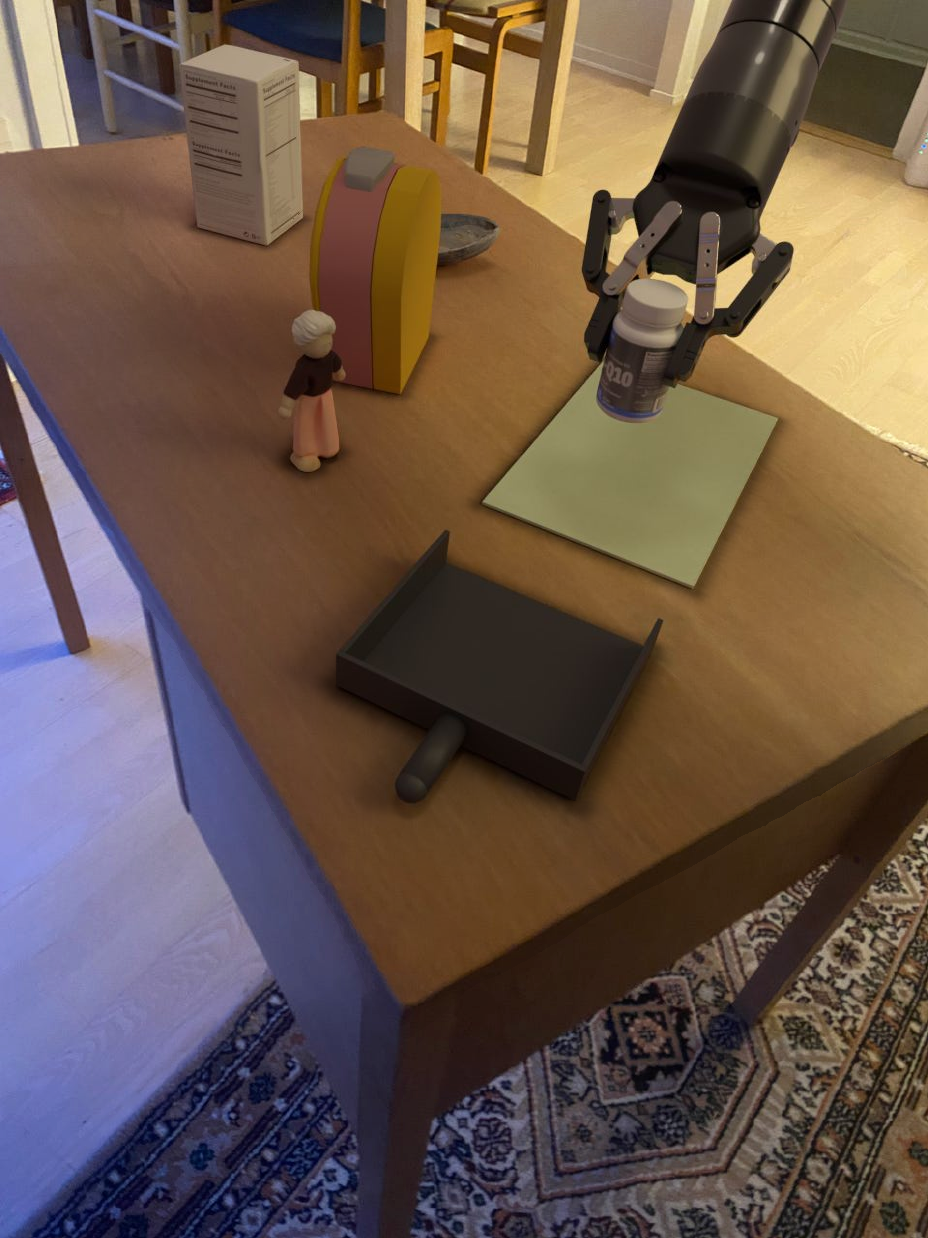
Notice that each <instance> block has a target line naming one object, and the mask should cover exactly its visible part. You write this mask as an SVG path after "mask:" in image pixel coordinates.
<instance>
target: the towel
mask: <svg viewBox="0 0 928 1238" xmlns="http://www.w3.org/2000/svg"><path fill="white" fill-rule="evenodd" d="M603 363H604V360H602V361H601V362H600V364H599V365H598V366H597V368H596V369H594V371H593V372H592V374H591V375H590V376H589V377H588V378H587V380H585V381H584V383H583V384H582V385H581V386H580V387H579V388H578V390H577V391H576V392H575V393H574V395H573V396H571V398H570V399H569V400H568V401H567V402H566V404H564V405H563V407H562V408H561V409H560V411H559V412H558V413H557V414H556V416H554V418H553V419H552V420H551V421H550V422H549V423H548V425H547V426H546V427H545V428H544V429H543V430H542V432H541V433H540V434H539V435H538V436H537V437H536V438H535V440H534V441H533V442H532V443H531V444H530V446H528V448H527V449H526V450H525V451H524V453H522V455H521V456H520V457H519V458H518V459H517V460H516V462H515V463H514V464H513V465H512V466H511V468H510V469H509V470H508V471H507V472H506V473H505V474H504V476H503V477H501V479H500V480H499V481H498V483H497V484H496V485H495V486H494V487H493V489H492V490H491V491H490V492H489V493H488V494H487V496H486V497H485V498H484V499H483V500H482V502H481V505H483V506H485V507H488V508H490V509H492V510H494V511H498V512H500V513H503V514H505V515H508V516H510V517H512V518H515V519H517V520H519V521H520V520H521V521H522V522H524V523H528V524H529V525H532V526H534V527H537V528H540V529H543V530H544V531H547V532H550V533H552V534H554V535H558V536H560V537H562V538H564V539H567V540H569V541H571V542H574V543H577V544H579V545H582V546H584V547H588V548H589V549H592V550H594V551H597V552H600V553H602V554H605V555H607V556H609V557H612V558H615V559H617V560H618V561H619V560H620V561H622V562H624V563H626V564H629V565H632V566H634V567H637V568H639V569H642V570H644V571H647V572H650V573H652V574H654V575H656V576H659V577H662V578H664V579H667V580H669V581H672V582H674V583H677V584H679V585H682V586H684V587H686V588H689V589H692V590H693V589H694V588H695V586H696V584H697V582H698V580H699V578H700V575H701V574H702V572H703V571H704V568H705V566H706V564H707V562H708V560H709V558H710V556H711V555H712V552H713V550H714V548H715V545H716V544H717V542H718V539H719V538H720V537H721V534H722V531H723V530H724V528H725V526H726V524H727V521H728V520H729V518H730V516H731V514H732V512H733V511H734V508H735V506H736V504H737V502H738V500H739V498H740V496H741V494H742V492H743V490H744V488H745V486H746V484H747V482H748V481H749V478H750V476H751V474H752V472H753V470H754V469H755V466H756V464H757V462H758V460H759V458H760V456H761V454H762V452H763V451H764V448H765V446H766V444H767V442H768V440H769V438H770V436H771V434H772V432H773V430H774V428H775V426H776V424H777V422H778V420H779V417H776V416H773V415H770V414H767V413H764V412H761V411H758V410H756V409H752V408H750V407H747V406H744V405H742V404H738V403H735V402H733V401H729V400H726V399H725V398H722V397H721V398H720V397H718V396H715V395H711V394H709V393H706V392H703V391H701V390H697V389H695V388H691V387H690V386H689V387H688V386H686V385H682V384H679V383H678V384H677V386H676V388H672V387H669V389H668V392H667V396H666V399H665V403H664V406H663V409H662V412H661V414H660V415H659V416H658V417H657V418H656V419H655V420H653V421H650V422H645V423H627V422H622V421H619V420H616V419H613V418H611V417H610V416H608V415H607V414H605V413H604V412H603V411H602V410H601V409H600V407H599V406H598V404H597V401H596V395H597V390H598V385H599V381H600V377H601V372H602V367H603Z"/></svg>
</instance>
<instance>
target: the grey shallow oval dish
mask: <svg viewBox="0 0 928 1238" xmlns="http://www.w3.org/2000/svg"><path fill="white" fill-rule="evenodd" d="M501 231H502V230H501V225H500V223H499V222H498V221H496V220H494V219H492V218H488V217H485V216H481V215H474V214H468V213H441V231H440V240H439V249H441V250H443V252H440V251H438V258H437V265H445V266H446V265H447V266H448V265H453V264H456V263H460V262H463V260H464V261H467V260H469V259H472V258H476V257H477V256H479V255H481V254H483V253H485V252H486V251H488V250H490V248H491V247H492V246H494V245H495V243H496V241H497V240H498V239H499V237H500V234H501ZM457 261H458V262H457Z"/></svg>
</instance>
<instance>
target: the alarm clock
mask: <svg viewBox="0 0 928 1238" xmlns="http://www.w3.org/2000/svg"><path fill="white" fill-rule="evenodd" d="M441 188H442V187H441V180H440V178H439V176H438V173H437V171H436V170H435V169H430V168H425V167H419V166H414V165H408V164H403V163H397V162H395V153H394V152H393V151H390V150H385V149H380V148H374V147H369V146H357V147H355V148H354V149H352V150H350V151H349V153H348V154H347V155H344V156H341V157H339V158H337V159H336V160H335V163H334V164H333V166H332V167H331V170H330V171H329V173H328V175H327V177H326V178H325V181H324V182H323V185H322V188H321V192H320V195H319V197H318V202H317V205H316V208H315V212H314V219H313V226H312V232H311V237H310V238H311V239H310V246H309V270H308V271H309V273H308V278H309V287H310V298H311V305H312V308H313V309H312V310H315V311H320V312H323V313H324V314H326V315H328V316H330V317H331V318H332V319H333V320H334V322H335V325H336V329H335V332H334V333H333V334H332V341H333V343H332V348H331V350H332V351H334V352H336V353H337V354H338V356H339V357H340V358H341V361H342V366H343V370H344V371H345V374H346V375H345V378H344V380H342V381H336V380H335V379H334V378H333V374H332V382H337V383H341V384H347V385H351V386H357V387H360V388H361V387H362V388H367V389H372V390H373V389H374V390H377V391H381V392H386V393H387V392H388V393H392V394H397V395H402V392H403V390H404V389H405V386H406V384H407V383H408V380H409V378H410V376H411V374H412V372H413V370H414V369H415V366H416V365H417V362H418V360H419V358H420V356H421V354H422V352H423V350H424V348H425V346H426V344H427V342H428V339H429V337H430V330H431V321H432V311H433V302H434V294H435V293H434V292H435V285H436V284H435V283H436V277H437V267H438V264H437V258H438V249H439V240H440V231H441V214H442V203H443V200H442V189H441Z"/></svg>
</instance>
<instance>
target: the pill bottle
mask: <svg viewBox="0 0 928 1238" xmlns="http://www.w3.org/2000/svg"><path fill="white" fill-rule="evenodd" d="M688 303H689V296H688V294H687V293H686V292H685V290H684V289H682V288H681V287H679V286H677V285H676V284H673V283H671V282H669V281H665V280H662V279H656V278H655V279H654V278H650V279H638V280H635V281H632V282H631V283H629V285H628V286H627V289H626V292H625V296H624V299H623V303H622V304H623V305H622V307H621V311H620V312H618V313H617V315H616V316H615V318H614V320H613V324H612V328H611V333H610V337H609V342H608V346H607V350H606V352H605V354H604V358H603V361H604V363H603V367H602V372H601V377H600V381H599V385H598V390H597V395H596V401H597V404H598V406H599V407H600V409H601V410H602V411H603V412H604V413H605V414H607V415H608V416H610V417H611V418H613V419H616V420H619V421H622V422H627V423H645V422H650V421H653V420H655V419H656V418H657V417H658V416H659V415H660V414H661V412H662V409H663V406H664V403H665V399H666V396H667V392H668V389H669V386H666V385H665V384H664V374H665V371H666V369H667V367H668V364H669V362H670V360H671V357H672V355H673V353H674V350H675V348H676V346H677V343H678V341H679V339H680V336H681V334H682V332H683V329H684V327H685V326H684V325H683V320H684V317H685V315H686V310H687V307H688Z"/></svg>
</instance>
